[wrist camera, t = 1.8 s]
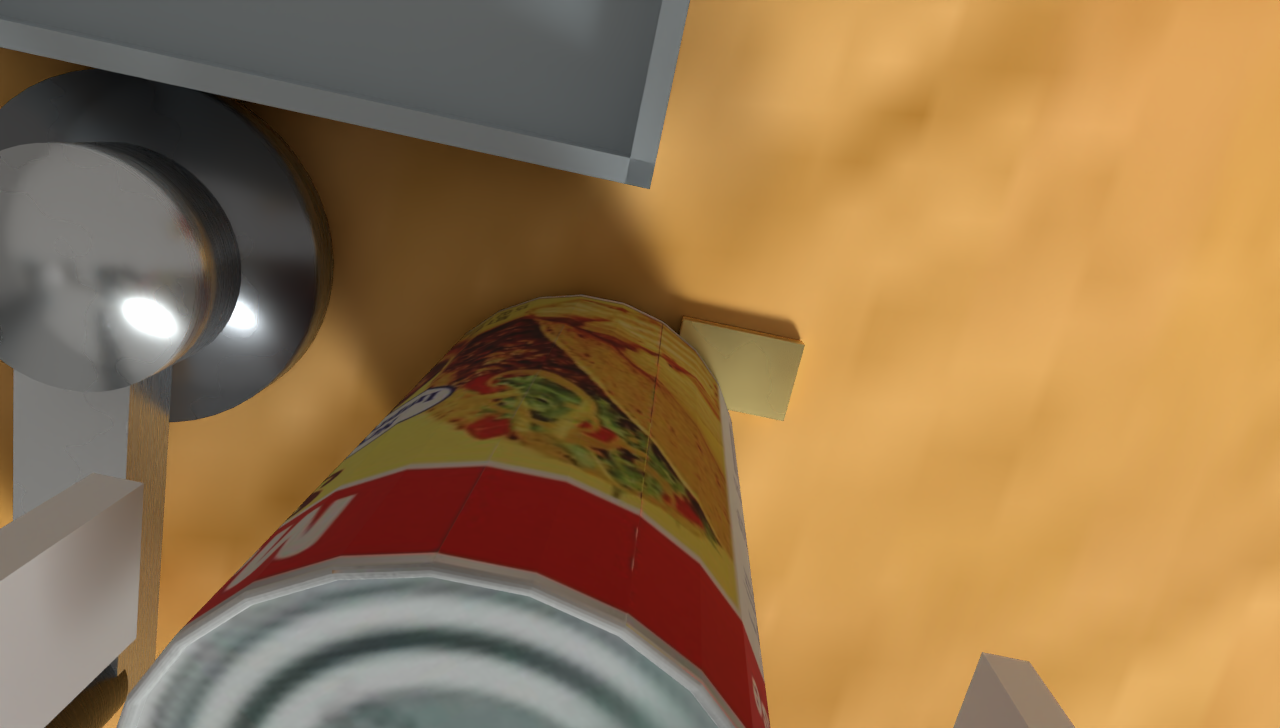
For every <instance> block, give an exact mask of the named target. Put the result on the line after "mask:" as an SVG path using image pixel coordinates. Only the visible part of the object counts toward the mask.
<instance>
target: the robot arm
mask: <svg viewBox="0 0 1280 728" xmlns="http://www.w3.org/2000/svg"><path fill="white" fill-rule="evenodd" d="M143 492H144V483H141V482H136V481H131V480H126V479H121V478H116V477H111V476H106V475H101V474H96V473H92V474H90V475H89V476H87V477H85V478H84V479H82V480H80V481H79V482H77V483H75V484H74V485H72V486H70V487H69V488H67V489H65V490H64V491H62V492H60V493H59V494H57V495H55V496H54V497H52V498H50V499H49V500H47V501H46V502H44V503H42V504H41V505H39V506H37V507H36V508H34V509H32V510H31V511H29V512H27V513H26V514H24V515H22V516H21V517H19V518H17V519H16V520H14V521H12V522H11V523H9V524H7V525H6V526H4V527H2V528H1V529H0V728H44V727H45V726H46V725H47V724H49V723H50V722H51V721H52V720H53V719H54V718H55V717H56V716H57V715H58V714H59V713H60V712H61V711H62V710H63V709H64V708H65V707H66V706H67V705H68V704H69V703H70V702H71V701H72V700H73V699H74V698H75V697H76V696H77V695H78V694H79V693H80V692H81V691H83V690H84V689H85V688H86V687H87V686H88V685H89V684H90V683H91V682H92V681H93V680H94V679H95V678H96V677H97V676H98V675H99V674H100V673H101V672H102V671H103V670H104V669H105V668H106V667H107V666H108V665H109V664H110V663H111V662H112V661H113V660H114V659H115V658H116V657H118V656H119V655H120V654H121V653H122V652H123V651H124V650H125V649H126V648H127V647H128V646H129V645H130V644H131V643H132V642H133V641H134V640H135V639H136V636H137V615H138V594H139V574H140V553H141V533H142V512H143ZM953 728H1075V727H1074V725H1073V724H1072V722H1071V721H1070V719H1069V718H1068V717H1067V715H1066V714H1065V712H1064V711H1063V709H1062V708H1061V707H1060V705H1059V704H1058V702H1057V701H1056V699H1055V698H1054V697H1053V695H1052V694H1051V692H1050V691H1049V689H1048V688H1047V686H1046V685H1045V684H1044V682H1043V681H1042V679H1041V678H1040V676H1039V675H1038V674H1037V672H1036V671H1035V669H1034V668H1033V666H1032V665H1031V664H1030V662H1028V661H1023V660H1018V659H1013V658H1008V657H1003V656H999V655H994V654H989V653H984V652H982V654H981V657H980V659H979V662H978V665H977V667H976V670H975V672H974V675H973V678H972V680H971V683H970V685H969V688H968V691H967V693H966V696H965V698H964V701H963V704H962V706H961V709H960V712H959V714H958V717H957V719H956V722H955V725H954V727H953Z"/></svg>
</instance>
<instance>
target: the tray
mask: <svg viewBox="0 0 1280 728" xmlns="http://www.w3.org/2000/svg"><path fill="white" fill-rule="evenodd" d="M689 2H690V0H0V47H2V48H7V49H11V50H16V51H20V52H25V53H30V54H34V55H39V56H43V57H48V58H52V59H57V60H62V61H66V62H71V63H75V64H80V65H84V66H89V67H94V68H98V69H103V70H107V71H112V72H117V73H121V74H126V75H130V76H135V77H139V78H144V79H149V80H153V81H158V82H162V83H167V84H171V85H176V86H181V87H185V88H190V89H194V90H199V91H203V92H208V93H213V94H217V95H222V96H226V97H231V98H235V99H240V100H245V101H249V102H254V103H258V104H263V105H267V106H272V107H277V108H281V109H286V110H290V111H295V112H299V113H304V114H309V115H313V116H318V117H322V118H327V119H331V120H336V121H341V122H345V123H350V124H354V125H359V126H363V127H368V128H373V129H377V130H382V131H386V132H391V133H395V134H400V135H405V136H409V137H414V138H418V139H423V140H427V141H432V142H437V143H441V144H446V145H450V146H455V147H459V148H464V149H469V150H473V151H478V152H482V153H487V154H492V155H496V156H501V157H505V158H510V159H514V160H519V161H524V162H528V163H533V164H537V165H542V166H546V167H551V168H556V169H560V170H565V171H569V172H574V173H578V174H583V175H588V176H592V177H597V178H601V179H606V180H610V181H615V182H620V183H624V184H629V185H633V186H638V187H642V188H647V189H650V185H651V181H652V176H653V171H654V167H655V162H656V157H657V153H658V148H659V143H660V138H661V134H662V129H663V124H664V120H665V115H666V110H667V106H668V101H669V96H670V91H671V87H672V82H673V77H674V73H675V68H676V63H677V59H678V54H679V49H680V44H681V40H682V35H683V30H684V26H685V21H686V16H687V11H688V7H689Z"/></svg>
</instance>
